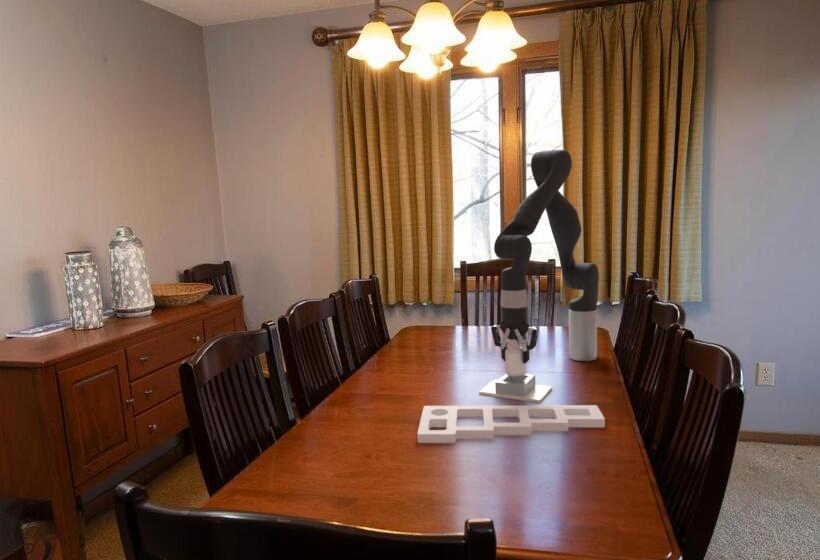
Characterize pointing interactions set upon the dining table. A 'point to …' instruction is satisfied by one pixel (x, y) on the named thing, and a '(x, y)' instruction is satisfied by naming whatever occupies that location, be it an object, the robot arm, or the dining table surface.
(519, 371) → the eye dropper bottle
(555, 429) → the holder
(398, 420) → the dining table surface
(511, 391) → the holder stand
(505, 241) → the robot arm
